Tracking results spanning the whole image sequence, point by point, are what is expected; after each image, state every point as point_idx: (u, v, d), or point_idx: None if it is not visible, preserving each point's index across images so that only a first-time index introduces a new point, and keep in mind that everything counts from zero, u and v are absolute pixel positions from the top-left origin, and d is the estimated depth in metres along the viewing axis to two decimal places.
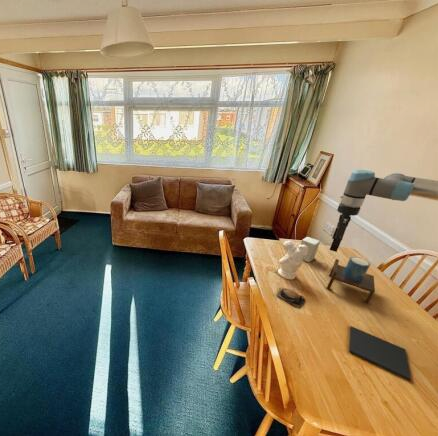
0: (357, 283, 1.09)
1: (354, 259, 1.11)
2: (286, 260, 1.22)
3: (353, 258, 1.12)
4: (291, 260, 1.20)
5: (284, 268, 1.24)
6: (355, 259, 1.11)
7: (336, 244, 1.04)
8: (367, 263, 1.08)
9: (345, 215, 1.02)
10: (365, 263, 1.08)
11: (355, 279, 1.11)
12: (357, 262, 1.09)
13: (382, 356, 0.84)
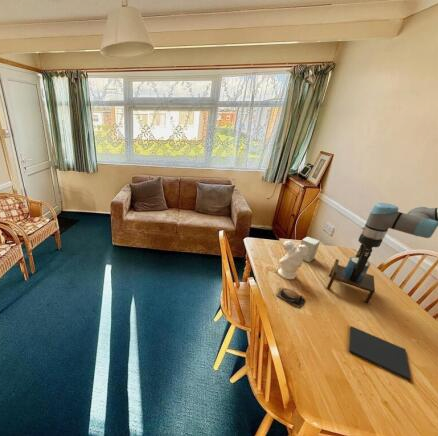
0: (357, 283, 1.09)
1: (354, 259, 1.11)
2: (286, 260, 1.22)
3: (353, 258, 1.12)
4: (291, 260, 1.20)
5: (284, 268, 1.24)
6: (355, 259, 1.11)
7: (356, 274, 1.08)
8: (367, 263, 1.08)
9: (367, 246, 1.03)
10: None
11: None
12: None
13: (382, 356, 0.84)
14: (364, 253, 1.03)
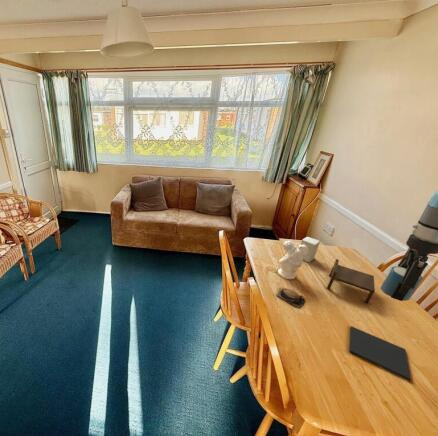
0: (357, 283, 1.09)
1: (398, 270, 0.80)
2: (286, 260, 1.22)
3: (396, 268, 0.81)
4: (291, 260, 1.20)
5: (284, 268, 1.24)
6: (399, 270, 0.80)
7: (403, 292, 0.77)
8: None
9: (421, 253, 0.72)
10: None
11: None
12: (403, 274, 0.78)
13: (382, 356, 0.84)
14: (417, 262, 0.72)
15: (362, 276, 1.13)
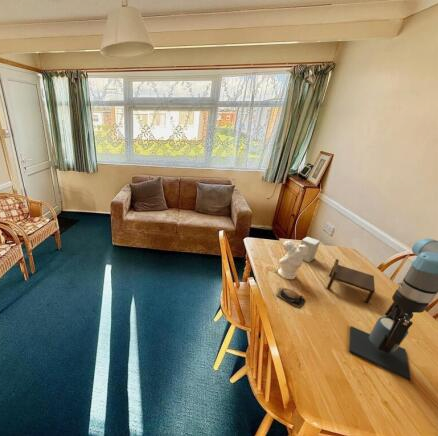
0: (357, 283, 1.09)
1: (385, 322, 0.82)
2: (286, 260, 1.22)
3: (383, 320, 0.83)
4: (291, 260, 1.20)
5: (284, 268, 1.24)
6: (386, 322, 0.82)
7: (389, 346, 0.79)
8: None
9: (406, 311, 0.74)
10: None
11: None
12: (390, 327, 0.80)
13: (382, 356, 0.84)
14: (403, 321, 0.73)
15: (362, 276, 1.13)
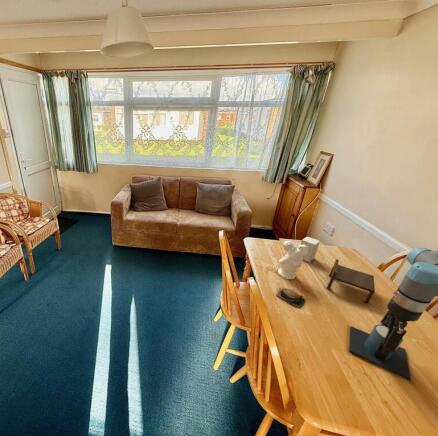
0: (357, 283, 1.09)
1: (380, 329, 0.84)
2: (286, 260, 1.22)
3: (378, 327, 0.84)
4: (291, 260, 1.20)
5: (284, 268, 1.24)
6: (381, 330, 0.83)
7: (384, 353, 0.80)
8: None
9: (400, 319, 0.76)
10: None
11: None
12: (385, 335, 0.82)
13: None
14: (397, 329, 0.75)
15: (362, 276, 1.13)
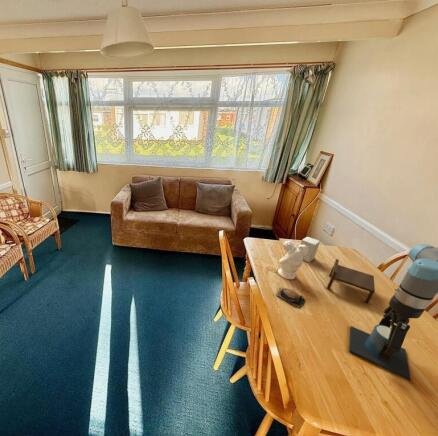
0: (357, 283, 1.09)
1: (380, 329, 0.84)
2: (286, 260, 1.22)
3: (379, 327, 0.84)
4: (291, 260, 1.20)
5: (284, 268, 1.24)
6: (382, 330, 0.83)
7: (389, 353, 0.77)
8: None
9: (402, 316, 0.75)
10: None
11: None
12: (385, 335, 0.82)
13: None
14: (401, 324, 0.74)
15: (362, 276, 1.13)
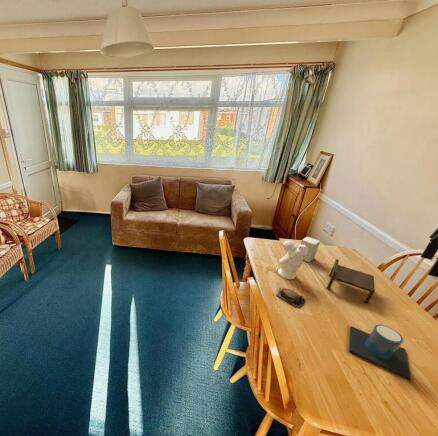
0: (357, 283, 1.09)
1: (380, 329, 0.84)
2: (286, 260, 1.22)
3: (379, 327, 0.84)
4: (291, 260, 1.20)
5: (284, 268, 1.24)
6: (382, 330, 0.83)
7: None
8: (399, 337, 0.81)
9: None
10: (396, 337, 0.81)
11: (381, 357, 0.83)
12: (385, 335, 0.82)
13: None
14: None
15: (362, 276, 1.13)
